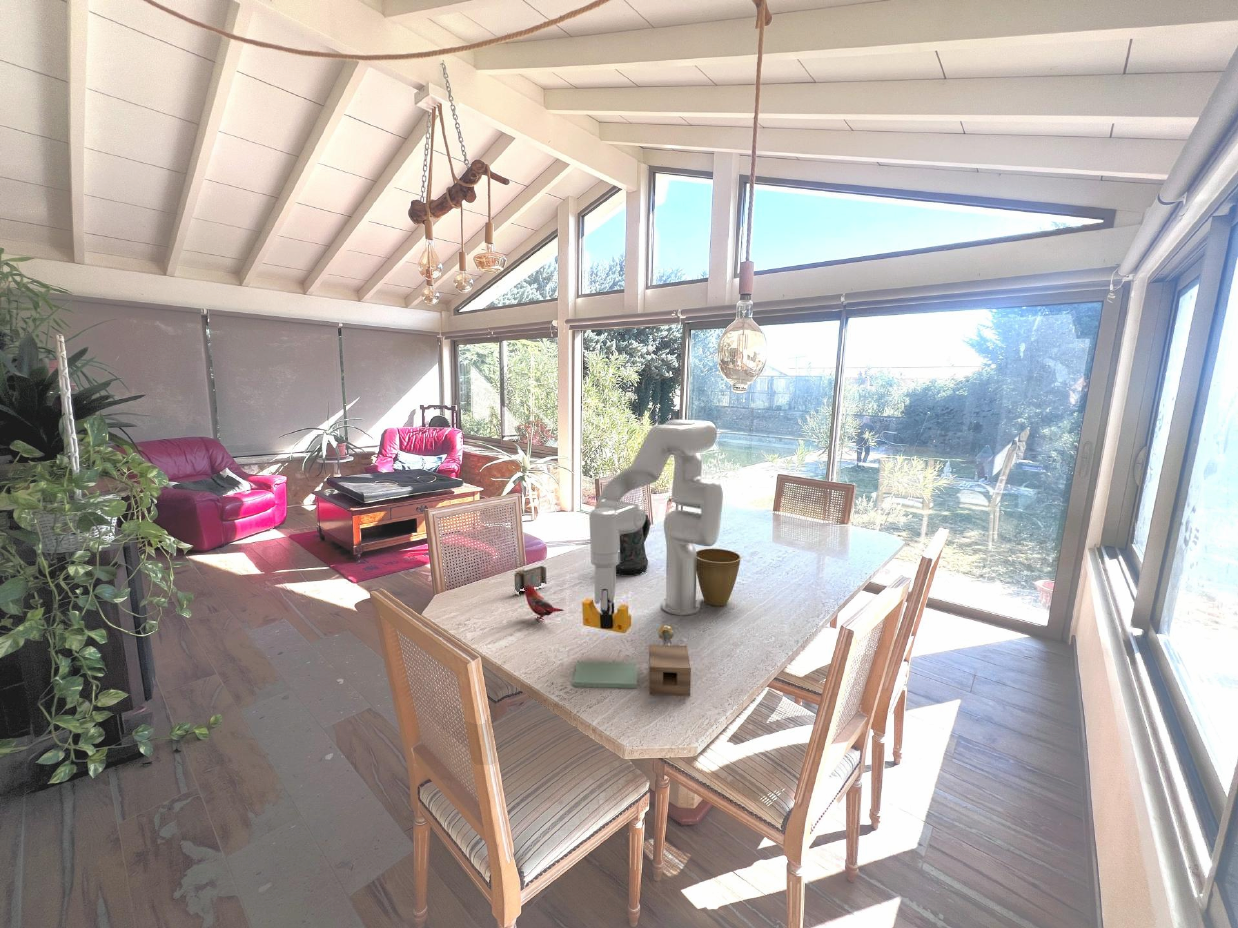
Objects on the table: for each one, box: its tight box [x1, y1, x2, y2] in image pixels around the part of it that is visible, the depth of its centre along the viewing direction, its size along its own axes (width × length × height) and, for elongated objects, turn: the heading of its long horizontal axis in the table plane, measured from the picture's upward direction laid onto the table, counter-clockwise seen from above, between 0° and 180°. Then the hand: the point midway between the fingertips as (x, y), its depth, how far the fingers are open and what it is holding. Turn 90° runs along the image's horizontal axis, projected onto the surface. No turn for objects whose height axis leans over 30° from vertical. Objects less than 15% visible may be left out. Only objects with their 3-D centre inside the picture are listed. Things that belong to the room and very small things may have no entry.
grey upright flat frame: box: [513, 565, 548, 593], centre depth 170 cm, size 11×3×10 cm, turn 134°
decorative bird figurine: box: [524, 584, 565, 621], centre depth 147 cm, size 3×18×10 cm, turn 51°
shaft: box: [657, 624, 674, 645], centre depth 125 cm, size 15×4×4 cm, turn 177°
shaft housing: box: [648, 644, 692, 697], centre depth 116 cm, size 10×9×7 cm
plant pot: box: [696, 548, 742, 607], centre depth 161 cm, size 15×15×16 cm
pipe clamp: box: [581, 597, 632, 634], centre depth 128 cm, size 12×4×6 cm, turn 66°
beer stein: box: [616, 514, 651, 576], centre depth 192 cm, size 16×19×25 cm
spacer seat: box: [572, 660, 638, 689], centre depth 119 cm, size 9×15×1 cm, turn 87°
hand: (607, 621), depth 128 cm, fingers closed on pipe clamp, 5 cm apart
